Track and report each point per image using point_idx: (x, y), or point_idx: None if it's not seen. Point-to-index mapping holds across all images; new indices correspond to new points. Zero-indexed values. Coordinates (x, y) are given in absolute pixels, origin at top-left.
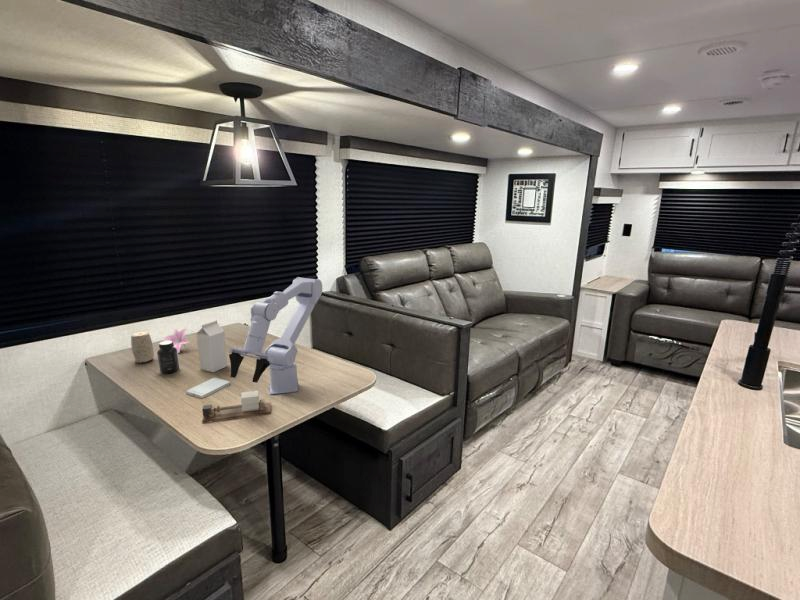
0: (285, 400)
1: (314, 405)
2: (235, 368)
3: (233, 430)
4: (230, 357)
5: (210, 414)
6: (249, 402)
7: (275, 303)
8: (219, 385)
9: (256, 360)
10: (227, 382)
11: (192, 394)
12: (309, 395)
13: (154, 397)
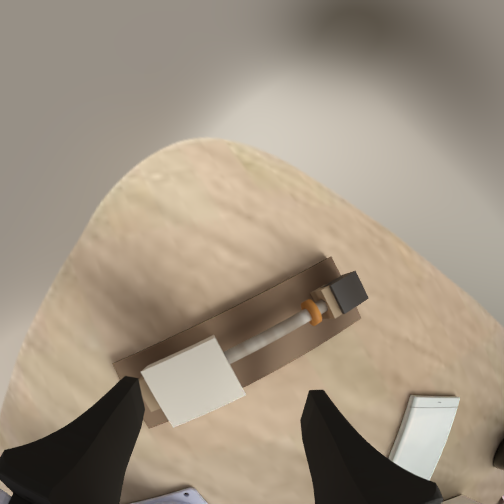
0: None
1: (18, 419)
2: (322, 453)
3: (193, 230)
4: (413, 482)
5: (322, 286)
6: (181, 350)
7: None
8: None
9: (53, 484)
10: None
11: (440, 397)
12: None
13: (493, 347)
